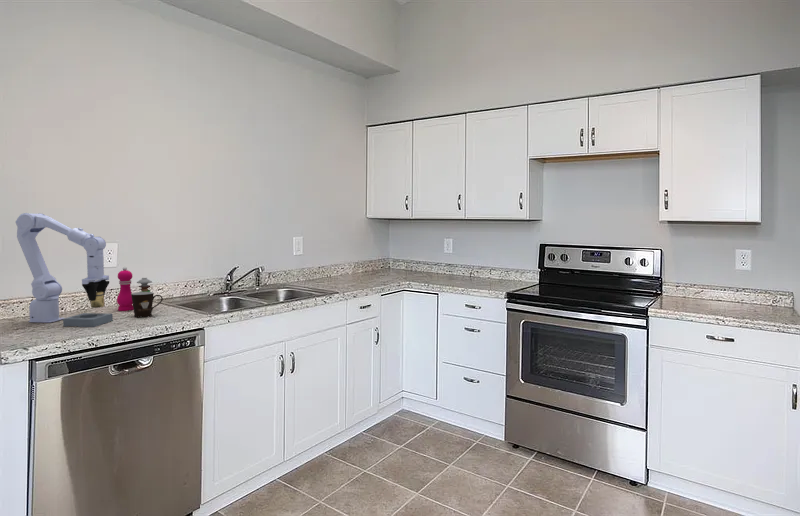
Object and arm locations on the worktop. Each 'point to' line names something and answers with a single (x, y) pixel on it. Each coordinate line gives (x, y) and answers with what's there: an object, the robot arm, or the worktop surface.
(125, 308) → the pepper mill
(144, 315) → the coffee mug
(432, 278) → the worktop surface
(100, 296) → the cylinder
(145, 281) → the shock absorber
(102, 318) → the bore block
